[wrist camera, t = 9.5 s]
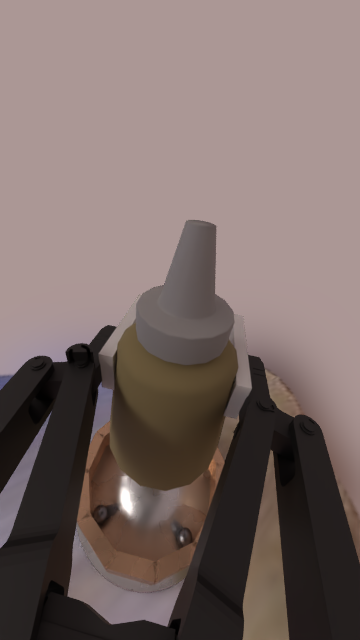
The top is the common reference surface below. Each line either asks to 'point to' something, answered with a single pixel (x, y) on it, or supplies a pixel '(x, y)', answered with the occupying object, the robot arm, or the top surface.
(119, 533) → the flange seat
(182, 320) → the squeeze bottle
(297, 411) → the top surface
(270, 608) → the top surface
